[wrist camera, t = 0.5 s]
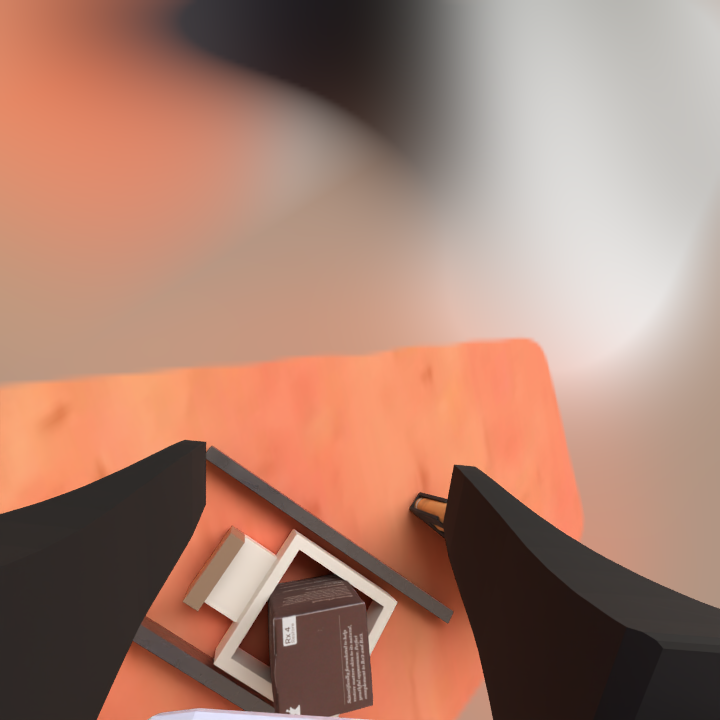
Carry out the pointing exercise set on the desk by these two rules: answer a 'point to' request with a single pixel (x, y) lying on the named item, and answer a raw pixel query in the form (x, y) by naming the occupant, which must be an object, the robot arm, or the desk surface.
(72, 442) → the desk surface
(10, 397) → the desk surface
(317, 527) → the track
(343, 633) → the box
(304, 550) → the frame
